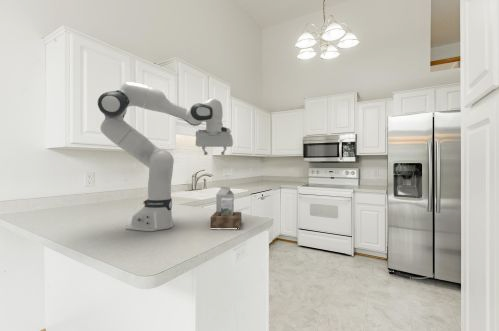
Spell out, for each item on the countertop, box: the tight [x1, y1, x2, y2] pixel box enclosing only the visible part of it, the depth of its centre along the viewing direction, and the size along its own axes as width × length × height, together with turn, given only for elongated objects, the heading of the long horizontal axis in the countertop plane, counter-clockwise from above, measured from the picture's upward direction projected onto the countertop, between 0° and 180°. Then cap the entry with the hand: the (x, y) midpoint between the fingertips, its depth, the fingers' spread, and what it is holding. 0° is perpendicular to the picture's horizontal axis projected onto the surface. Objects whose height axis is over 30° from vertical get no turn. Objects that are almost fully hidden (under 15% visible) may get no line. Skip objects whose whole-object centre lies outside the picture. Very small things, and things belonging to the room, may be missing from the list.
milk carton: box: [215, 186, 235, 212], centre depth 137 cm, size 7×7×19 cm
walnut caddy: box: [209, 211, 242, 229], centre depth 124 cm, size 14×14×6 cm
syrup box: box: [221, 198, 233, 216], centre depth 124 cm, size 6×6×14 cm
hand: (214, 155), depth 130 cm, fingers open, 8 cm apart
